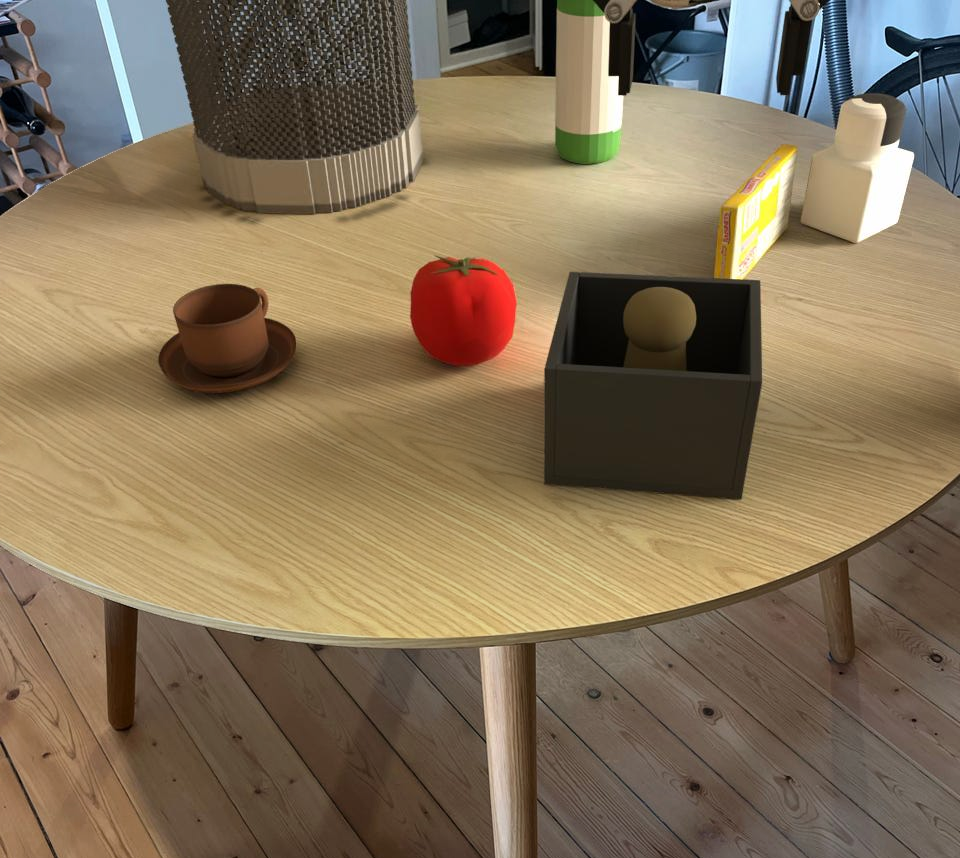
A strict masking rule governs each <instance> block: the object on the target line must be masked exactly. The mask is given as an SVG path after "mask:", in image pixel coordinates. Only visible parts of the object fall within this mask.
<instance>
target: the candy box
mask: <svg viewBox="0 0 960 858" xmlns="http://www.w3.org/2000/svg"><path fill="white" fill-rule="evenodd" d="M797 155H798V145H794V144H793V145H792V144H783V143H782V144H780V146H779V147H778V148H777V149H775V151H774V152H773V153H772V154H771V155H770V156H769V157H768V158H767V159H766V160H765V162H763V163H762V164H761V165H760V166H759V167H758V168H757V170H755V171H754V172H753V174H751V176H749V178H748V179H747V180H746V181H745V182H744V183H742V185H741V186H740V187H739V188H738V189H737V190H736V191H735V192H734V193H733V194H731V196H729V198H728V199H727V200H726V201H725V202H724V203H723V204H722V205H721V206H720V211H719V219H718V226H717V238H716V239H717V240H716V249H715V262H714V272H713V278H724V279H745V277H746V276H747V275H748V274H749V273H750V271H751V270H752V269H753V268H754V267H755V266H756V264H757V263H758V262H759V261H760V260H761V259H762V258H763V256H764V255H765V254H767V252H768V251H769V249H770V248H771V247H772V246H773V244H775V242H776V241H777V240H778V238H780V236H782V234H783V233H785V231H786V230H787V229H788V225H789V224H788V223H789V217H790V216H789V215H790V208H791V202H792V195H793V187H794V186H793V185H794V177H795V170H796V164H797Z"/></svg>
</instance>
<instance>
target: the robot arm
mask: <svg viewBox="0 0 960 858" xmlns="http://www.w3.org/2000/svg"><path fill="white" fill-rule="evenodd" d="M593 1H594V2H595V3H596V5H597V6H598V7H599V8H600V9H601V10H602V12H603V13H604V15H605V18H606V20H607V21H608V22H610V30H609V63H608V76H619V78H618V96H623V97H627V95H628V94H630V93H631V90H632V85H633V81H634V61H635V39H636V17H637V15H636V12H634V9H633V6H634V4H636V2H637V1H638V0H593ZM788 1H789V3H790V4H789V6H788V10H785V12H784V17H783V25H782V33H781V39H780V47H779V54H778V61H777V70H776V76H775V77H776V78H775V83H776V93H777V94H779V96H790V92H791V86H792V79H793V77H794V76H799V77H800V76H801V77H802V76H804V71H805V65H806V59H807V51H808V46H809V39H810V33H811V27H812V20H814V19H815V18H816V17H817V16H818V14H819V13H820V11H821V9H823V7H825V5H827V4H828V3H829V2H830V1H831V0H788Z"/></svg>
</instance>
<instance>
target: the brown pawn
mask: <svg viewBox="0 0 960 858" xmlns="http://www.w3.org/2000/svg"><path fill="white" fill-rule="evenodd" d="M623 323H624V330H625V334H626V335H627V337H628V338H629V343H628V347H627V352H626V357H625V361H624V366H623V368H639V369H656V370H673V371H687V370H686V341H687V340H688V339H689V338H690V337H691V335H692V333H693V330H694V328H695V325H696V311H695V305H694V304H693V302H692V300H691V299H690V297H689V296H688V295H686V294H685V293H683V292H681V291H679V290H676V289H673V288H668V287H653V288H647V289H645V290H642V291H639V292H637V293H636V294H634V295H633V296H632V297H631V299H630V300H629V301H628V303H627V305H626V307H625V310H624V315H623Z"/></svg>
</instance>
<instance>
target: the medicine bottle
mask: <svg viewBox="0 0 960 858" xmlns="http://www.w3.org/2000/svg"><path fill="white" fill-rule="evenodd" d="M906 114H907V107H906V105H905V103H904V102H903V101H902V100H900V99H898V97H897V98H896V97H895V96H892V95H889V94H886V93H885V94H884V93H878V92H873V93H872V92H868V93H867V92H866V93H860V94H856V95H854V96H851V97H848V98H847V99H846V100H845V101H843V102H842V103H841V106H840V110H839V114H838V120H837V125H836V130H835V135H834V140H833V143H834V144H832V145H830V146H828V147H826V148H823V149H821V150H819V151H817V152H814V153H813V155H812V157H811V163H810V168H809V172H808V177H807V185H806V190H805V196H804V201H803V206H802V210H801V216H800V223H801V224H802V225H804V226H807V227H810V228H812V229H815V230H817V231H821V232H823V233H826V234H829V235H832V236H833V237H837V238H839V239H842V240H845V241H847V242H850V243H852V244H858V243H860V242H862V241H865V240H866V239H869V238H871V237H872V236H874V235H876V234H878V233H880V232H883V231H884V230H886V229H888V228H891V227H892V226H894V225H896V224H898V222H899V218H900V214H901V210H902V206H903V203H904V198H905V195H906V190H907V186H908V182H909V178H910V175H911V170H912V167H913V163H914V159H915V154H914V152H913V151H910V150H907V149H903V148H900V147H899V143H900V139H901V134H902V131H903V126H904V122H905V119H906Z"/></svg>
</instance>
